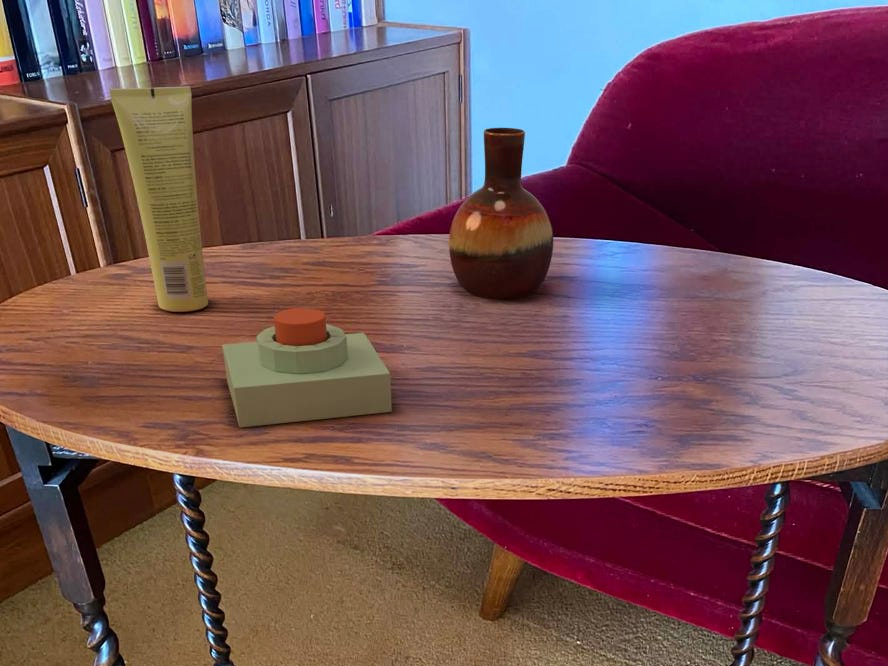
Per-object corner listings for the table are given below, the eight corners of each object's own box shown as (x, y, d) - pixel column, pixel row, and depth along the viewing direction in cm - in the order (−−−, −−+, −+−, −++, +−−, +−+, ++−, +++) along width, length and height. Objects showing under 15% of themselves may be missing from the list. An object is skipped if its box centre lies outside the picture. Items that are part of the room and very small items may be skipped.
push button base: (239, 427, 74) (230, 364, 71) (227, 381, 82) (218, 322, 79) (391, 412, 77) (389, 350, 74) (366, 368, 84) (363, 311, 82)
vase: (524, 310, 99) (531, 143, 90) (430, 294, 103) (428, 132, 94) (566, 284, 107) (577, 128, 98) (477, 270, 111) (480, 119, 102)
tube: (175, 295, 101) (140, 81, 89) (220, 299, 100) (190, 84, 88) (149, 311, 96) (108, 88, 85) (195, 316, 95) (161, 91, 84)
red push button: (280, 351, 74) (277, 325, 73) (273, 335, 78) (270, 309, 76) (331, 347, 75) (329, 321, 74) (322, 331, 79) (320, 306, 77)
